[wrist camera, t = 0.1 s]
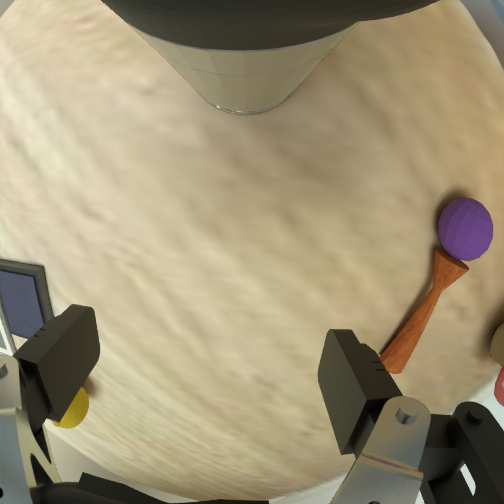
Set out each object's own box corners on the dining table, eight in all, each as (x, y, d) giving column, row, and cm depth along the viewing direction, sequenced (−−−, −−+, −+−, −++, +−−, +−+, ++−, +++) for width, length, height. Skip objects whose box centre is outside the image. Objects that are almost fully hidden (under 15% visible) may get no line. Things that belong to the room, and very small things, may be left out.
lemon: (79, 365, 32) (53, 408, 24) (104, 395, 33) (84, 439, 26) (54, 371, 32) (29, 410, 25) (78, 399, 34) (57, 439, 27)
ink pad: (-2, 259, 27) (-9, 263, 25) (43, 266, 27) (36, 272, 26) (15, 329, 30) (9, 334, 29) (59, 341, 30) (54, 348, 29)
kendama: (372, 376, 28) (469, 195, 20) (366, 342, 33) (442, 183, 25) (416, 386, 27) (512, 221, 20) (405, 353, 33) (483, 206, 25)
